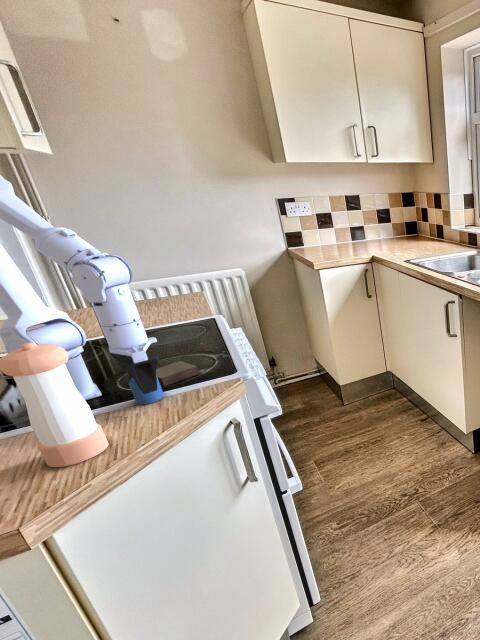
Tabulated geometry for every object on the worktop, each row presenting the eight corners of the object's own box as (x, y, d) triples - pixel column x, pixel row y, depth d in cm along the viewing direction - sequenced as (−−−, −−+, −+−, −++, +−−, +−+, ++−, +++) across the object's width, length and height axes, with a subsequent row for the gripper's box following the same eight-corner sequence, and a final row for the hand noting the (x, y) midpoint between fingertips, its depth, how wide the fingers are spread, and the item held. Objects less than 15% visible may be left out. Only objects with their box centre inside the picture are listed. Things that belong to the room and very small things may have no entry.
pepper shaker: (54, 473, 64) (-5, 356, 57) (41, 458, 67) (-17, 347, 60) (115, 448, 69) (68, 339, 62) (100, 435, 73) (54, 332, 66)
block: (164, 386, 91) (161, 378, 90) (148, 380, 94) (145, 372, 93) (199, 373, 96) (196, 365, 96) (182, 368, 99) (180, 360, 99)
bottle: (139, 406, 82) (126, 374, 80) (134, 400, 85) (121, 368, 83) (166, 398, 85) (155, 366, 83) (161, 392, 88) (149, 361, 86)
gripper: (157, 323, 78) (180, 388, 83) (139, 310, 87) (161, 370, 91) (106, 334, 73) (134, 403, 78) (93, 319, 82) (118, 382, 86)
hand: (145, 386), depth 84 cm, fingers open, 7 cm apart
